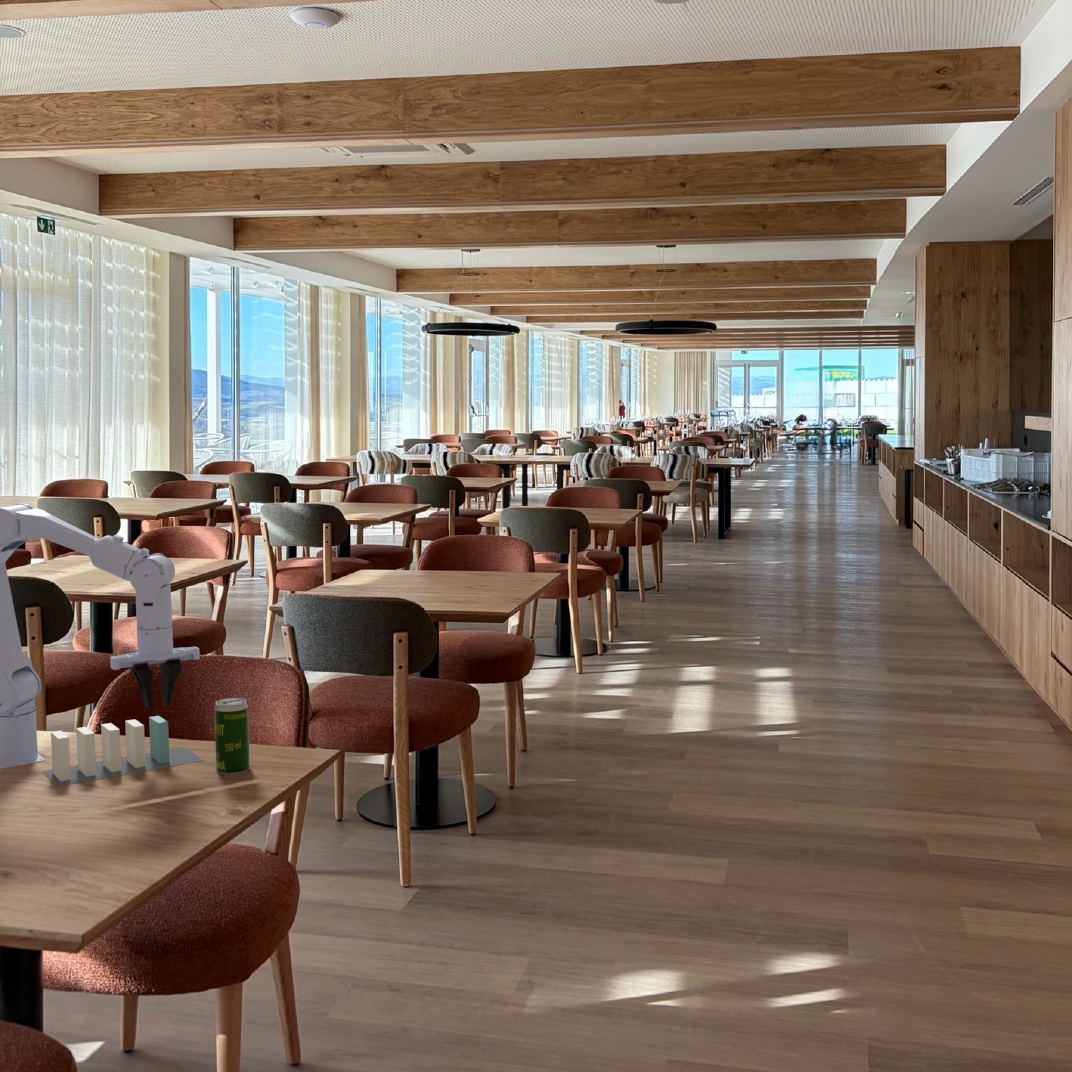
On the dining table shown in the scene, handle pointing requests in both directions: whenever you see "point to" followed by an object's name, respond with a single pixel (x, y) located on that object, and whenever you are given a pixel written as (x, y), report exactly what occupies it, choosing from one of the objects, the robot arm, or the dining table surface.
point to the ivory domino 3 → (111, 747)
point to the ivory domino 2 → (86, 751)
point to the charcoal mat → (126, 767)
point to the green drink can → (232, 736)
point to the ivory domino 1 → (60, 755)
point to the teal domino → (159, 739)
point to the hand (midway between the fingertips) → (157, 705)
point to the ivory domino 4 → (135, 743)
